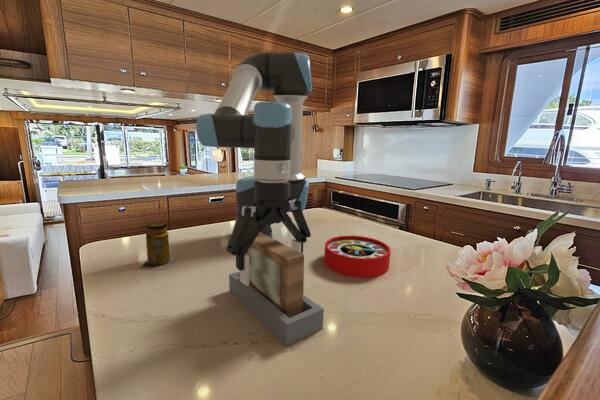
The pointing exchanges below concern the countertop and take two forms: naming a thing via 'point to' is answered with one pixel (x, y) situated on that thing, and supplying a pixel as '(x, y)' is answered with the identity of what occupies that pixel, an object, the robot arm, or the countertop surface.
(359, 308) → the countertop surface
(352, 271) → the toy clock
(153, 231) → the condiment
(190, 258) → the countertop surface
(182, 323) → the countertop surface
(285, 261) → the walnut frame
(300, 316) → the charcoal tray
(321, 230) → the countertop surface
